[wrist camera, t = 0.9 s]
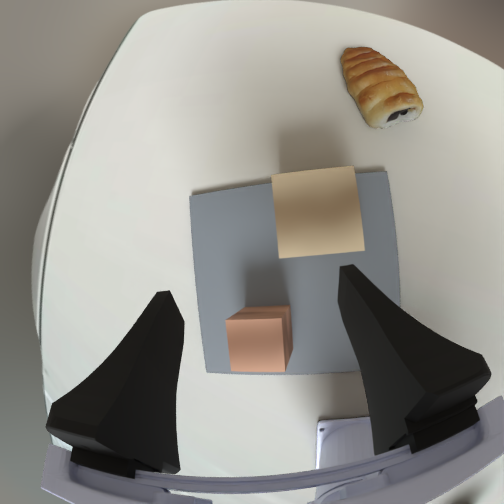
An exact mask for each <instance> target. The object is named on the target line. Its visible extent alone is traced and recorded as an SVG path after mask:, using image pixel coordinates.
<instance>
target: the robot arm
mask: <svg viewBox="0 0 504 504" xmlns="http://www.w3.org/2000/svg"><path fill="white" fill-rule="evenodd" d="M337 302H338V305H339V309H340V313H341V317H342V321H343V324H344V326H345V329H346V332H347V334H348V337H349V340H350V342H351V345H352V347H353V350H354V353H355V355H356V358H357V361H358V364H359V367H360V370H361V374H362V379H363V383H364V387H365V392H366V397H367V403H368V408H369V415H370V417H362V418H351V419H338V420H322V421H319V422H318V424H317V452H316V470H310V471H304V472H297V473H289V474H280V475H270V476H255V477H195V476H181V475H171V474H176V473H178V472H179V471H180V470H181V469H180V462H179V454H178V445H177V431H176V391H177V382H178V376H179V369H180V363H181V357H182V351H183V344H184V322H185V321H184V319H183V317H182V315H181V313H180V311H179V309H178V307H177V305H176V303H175V301H174V298H173V296H172V294H171V292H170V291H161V292H157V293H156V294H155V296H154V297H153V298H152V300H151V301H150V303H149V304H148V305H147V307H146V308H145V310H144V311H143V313H142V314H141V315H140V317H139V318H138V320H137V321H136V322H135V324H134V325H133V327H132V328H131V329H130V331H129V332H128V333H127V334H126V336H125V337H124V338H123V340H122V341H121V342H120V343H119V345H118V346H117V347H116V348H115V350H114V351H113V352H112V353H111V354H110V355H109V356H108V357H107V358H106V360H105V361H104V362H103V363H102V364H101V365H100V366H99V367H98V368H97V369H96V370H94V371H93V372H92V373H91V374H90V375H89V376H88V377H87V378H86V379H85V380H84V381H82V382H81V383H80V384H79V385H78V386H76V387H75V388H74V389H72V390H71V391H70V392H68V393H67V394H65V395H64V396H63V397H61V398H60V399H58V400H57V401H55V402H53V403H52V406H51V409H50V413H49V416H48V420H47V424H46V429H47V431H48V432H50V433H51V434H52V435H54V436H55V437H57V438H59V439H60V440H62V441H64V442H65V443H67V444H69V445H71V446H72V447H73V448H72V452H71V451H69V450H67V449H64V448H61V447H58V446H55V445H52V444H49V445H48V450H47V454H46V459H45V464H44V470H43V476H42V482H41V488H42V489H44V490H46V491H48V492H50V493H52V494H54V495H56V496H58V497H60V498H62V499H64V500H66V501H68V502H70V503H72V504H212V500H209V499H201V498H196V497H194V496H185V495H178V494H171V492H170V491H169V490H174V491H183V492H195V493H213V494H249V493H268V492H279V491H289V490H297V489H304V488H311V487H316V495H315V501H312V502H308V503H307V504H425V503H427V502H429V501H431V500H433V499H435V498H437V497H439V496H440V495H442V494H444V493H446V492H448V491H449V490H451V489H453V488H454V487H456V486H458V485H459V484H461V483H463V482H464V481H466V480H467V479H469V478H470V477H472V476H473V475H475V474H476V473H478V472H479V471H481V470H482V469H484V468H485V467H486V466H488V465H489V464H490V463H492V462H493V461H495V460H496V459H497V458H499V457H500V456H501V455H503V454H504V400H503V398H502V396H498V397H497V398H495V399H493V400H492V401H490V402H488V403H487V404H485V405H483V406H482V407H480V408H479V409H478V410H476V407H475V404H476V403H477V399H476V396H475V395H476V394H477V393H478V392H479V391H480V390H481V388H482V387H483V386H484V385H485V384H486V383H487V382H488V381H489V379H490V377H491V371H490V369H489V367H488V365H487V363H486V361H485V359H484V358H483V356H482V355H481V354H479V353H476V352H474V351H471V350H469V349H466V348H464V347H462V346H460V345H458V344H456V343H454V342H452V341H450V340H448V339H446V338H444V337H442V336H440V335H439V334H437V333H435V332H434V331H432V330H431V329H429V328H427V327H426V326H424V325H423V324H421V323H420V322H418V321H417V320H416V319H414V318H413V317H411V316H410V315H409V314H407V313H406V312H405V311H404V310H402V309H401V308H400V307H399V306H398V305H396V304H395V303H394V302H393V301H392V300H391V299H390V298H388V297H387V296H386V295H385V294H384V293H383V292H382V291H381V290H380V289H379V288H378V287H377V286H375V285H374V284H373V283H372V282H371V281H370V280H369V279H368V278H367V277H366V276H365V275H364V274H363V273H362V272H361V271H360V270H359V269H358V268H357V267H356V266H355V265H354V264H350V265H345V266H340V269H339V285H338V298H337ZM320 428H324V429H323V430H321V429H320ZM154 472H157V473H154ZM162 473H167V474H162Z"/></svg>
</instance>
